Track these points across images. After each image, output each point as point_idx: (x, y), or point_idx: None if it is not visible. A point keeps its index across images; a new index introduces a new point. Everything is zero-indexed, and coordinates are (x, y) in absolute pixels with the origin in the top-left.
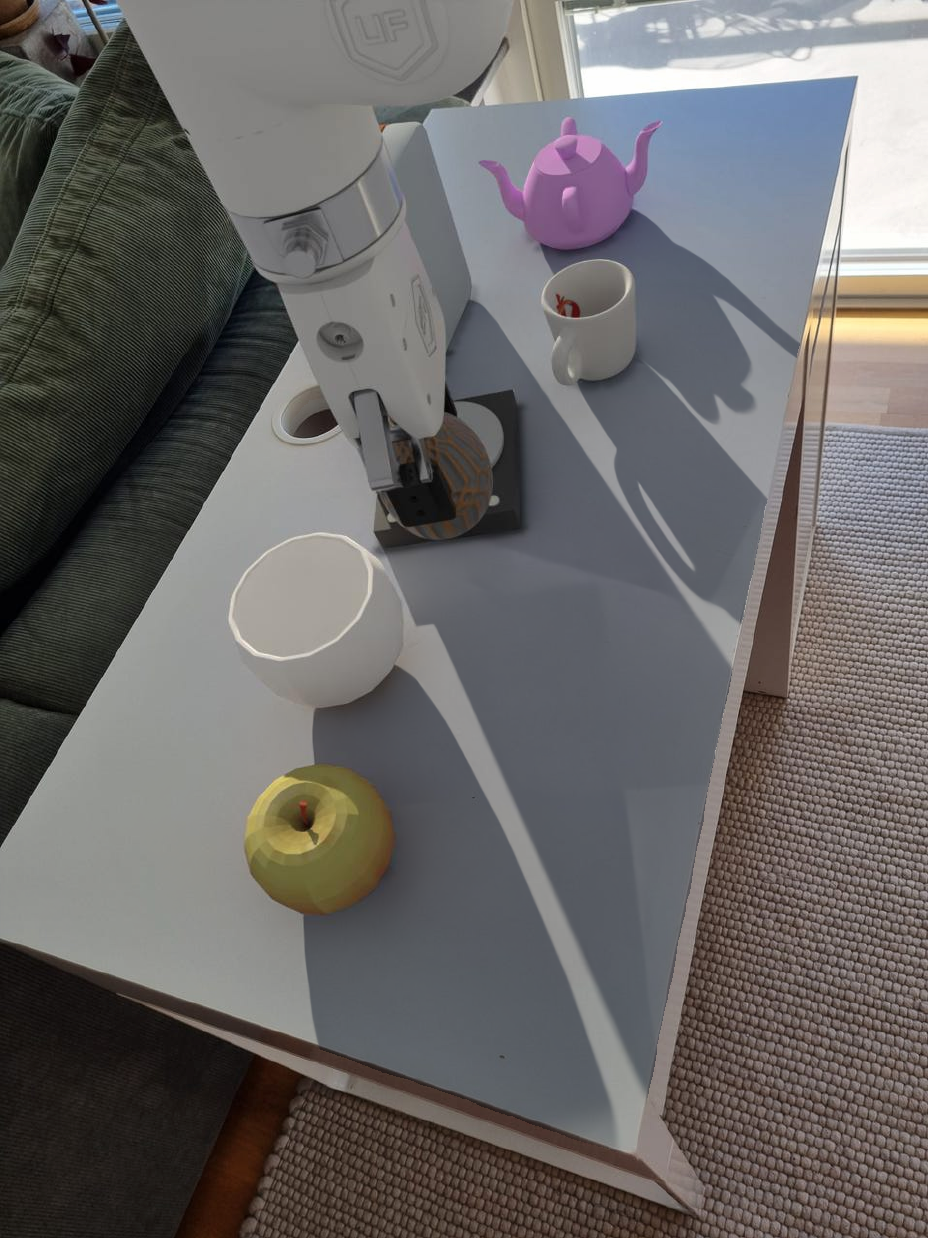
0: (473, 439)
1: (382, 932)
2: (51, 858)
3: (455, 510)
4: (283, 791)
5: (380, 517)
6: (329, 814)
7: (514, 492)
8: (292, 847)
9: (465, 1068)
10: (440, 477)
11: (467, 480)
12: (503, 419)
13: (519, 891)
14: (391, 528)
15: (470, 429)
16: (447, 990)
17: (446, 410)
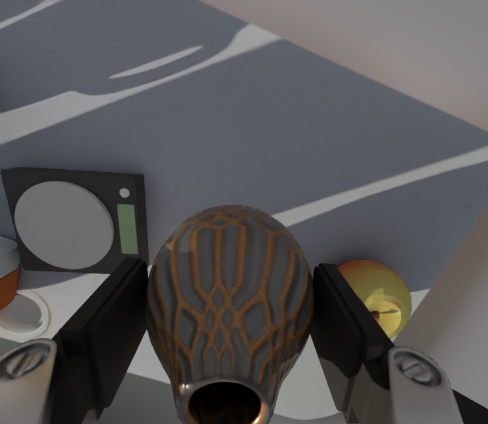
0: (225, 243)
1: (393, 260)
2: (311, 405)
3: (329, 265)
4: None
5: None
6: (381, 304)
7: (116, 176)
8: (394, 322)
9: (468, 223)
10: (373, 321)
11: (291, 250)
12: (36, 180)
13: (395, 192)
14: None
15: (199, 247)
16: (431, 230)
17: (135, 282)
